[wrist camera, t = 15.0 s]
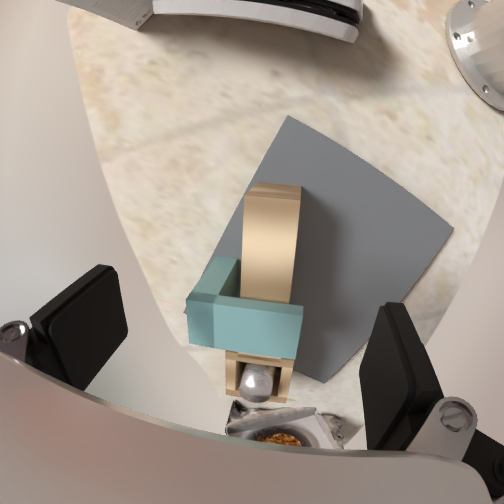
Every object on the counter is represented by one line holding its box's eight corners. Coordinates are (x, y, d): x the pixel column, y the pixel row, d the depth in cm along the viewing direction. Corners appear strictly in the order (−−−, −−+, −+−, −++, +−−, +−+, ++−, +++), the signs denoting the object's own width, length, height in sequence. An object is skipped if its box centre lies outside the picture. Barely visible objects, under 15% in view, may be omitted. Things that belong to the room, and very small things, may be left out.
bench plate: (288, 116, 23) (287, 115, 22) (448, 224, 24) (453, 228, 23) (187, 306, 32) (183, 312, 31) (324, 376, 33) (324, 383, 32)
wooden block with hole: (290, 362, 31) (285, 403, 26) (238, 355, 32) (225, 394, 26) (314, 187, 24) (317, 202, 18) (245, 180, 25) (227, 194, 19)
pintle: (260, 325, 30) (248, 377, 23) (284, 337, 30) (277, 390, 23) (248, 343, 31) (233, 394, 24) (271, 354, 31) (261, 406, 24)
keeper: (299, 303, 28) (295, 359, 21) (216, 293, 29) (189, 343, 22) (304, 265, 27) (303, 315, 19) (216, 255, 28) (185, 299, 20)
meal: (234, 415, 38) (211, 491, 26) (234, 397, 37) (209, 479, 25) (337, 425, 36) (337, 503, 24) (344, 408, 35) (347, 492, 23)
